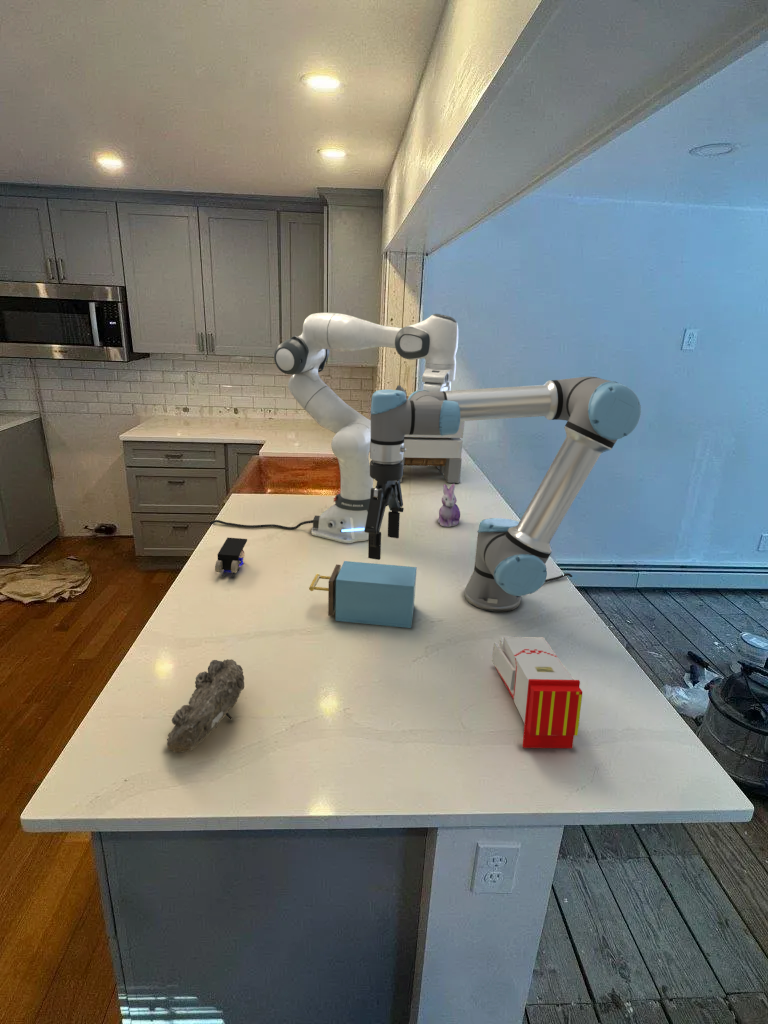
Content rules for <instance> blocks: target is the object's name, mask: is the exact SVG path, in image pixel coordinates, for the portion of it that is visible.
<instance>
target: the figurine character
mask: <svg viewBox="0 0 768 1024" xmlns="http://www.w3.org/2000/svg"><path fill="white" fill-rule="evenodd" d="M247 542H248V538H240V537H226V539H225V541H224V543H223V544H222V546H221V547H220V549H219V551H218V552H217V560H216V562H215V564H214V572H215V573H221V577H222V578H224V577H225V576H226V574H227V573H230V574H231V573H232V574H231V578H234V577H235V575H236V573H237V572H239V571H240V567H242V566H243V565H244V564H245V562H244V558H245V551H244V547H245V546H246V544H247Z"/></svg>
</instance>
